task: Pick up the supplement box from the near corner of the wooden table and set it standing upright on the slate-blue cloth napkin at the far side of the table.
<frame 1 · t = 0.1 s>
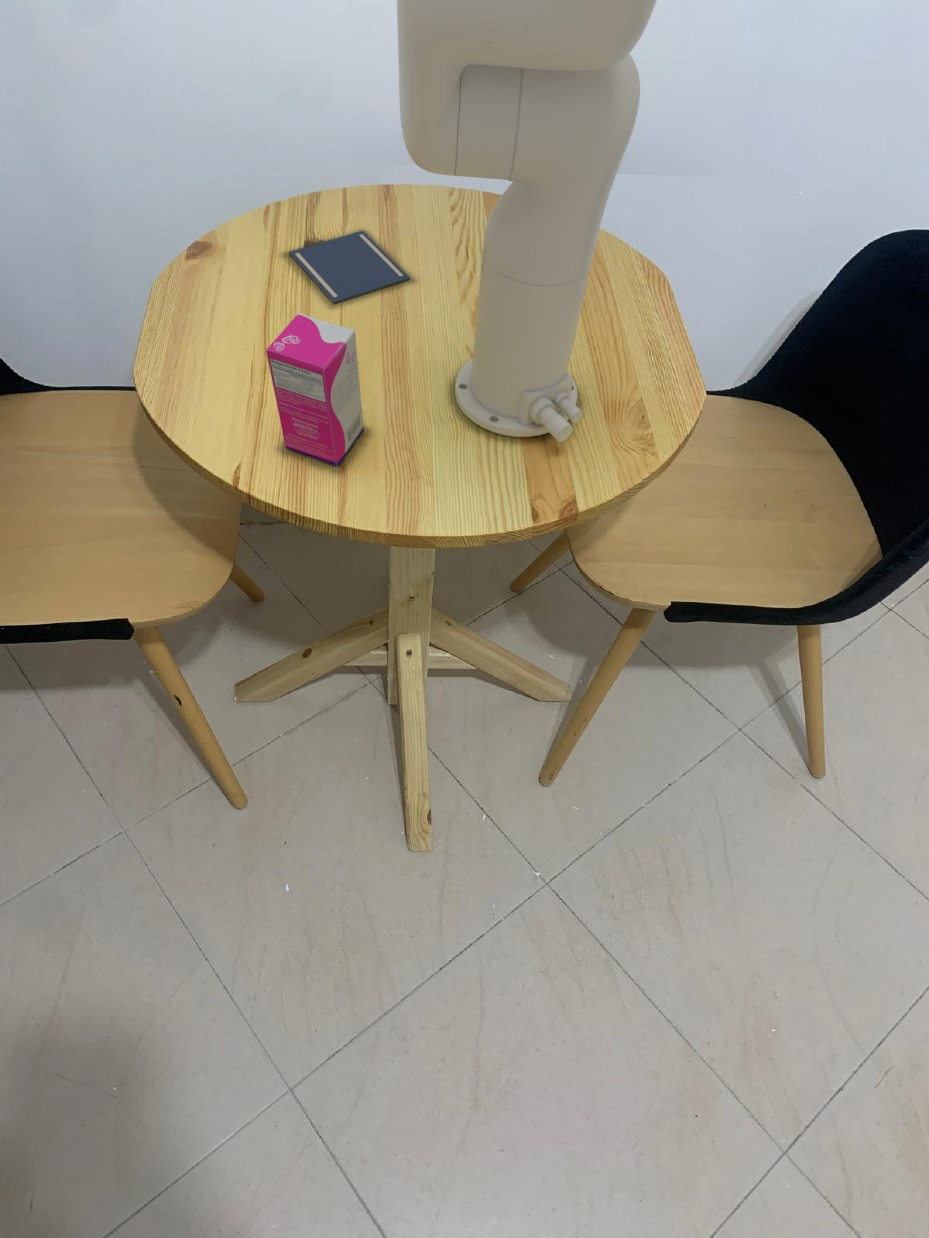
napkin: (349, 267, 90), on the table
supplement box: (324, 441, 75), on the table
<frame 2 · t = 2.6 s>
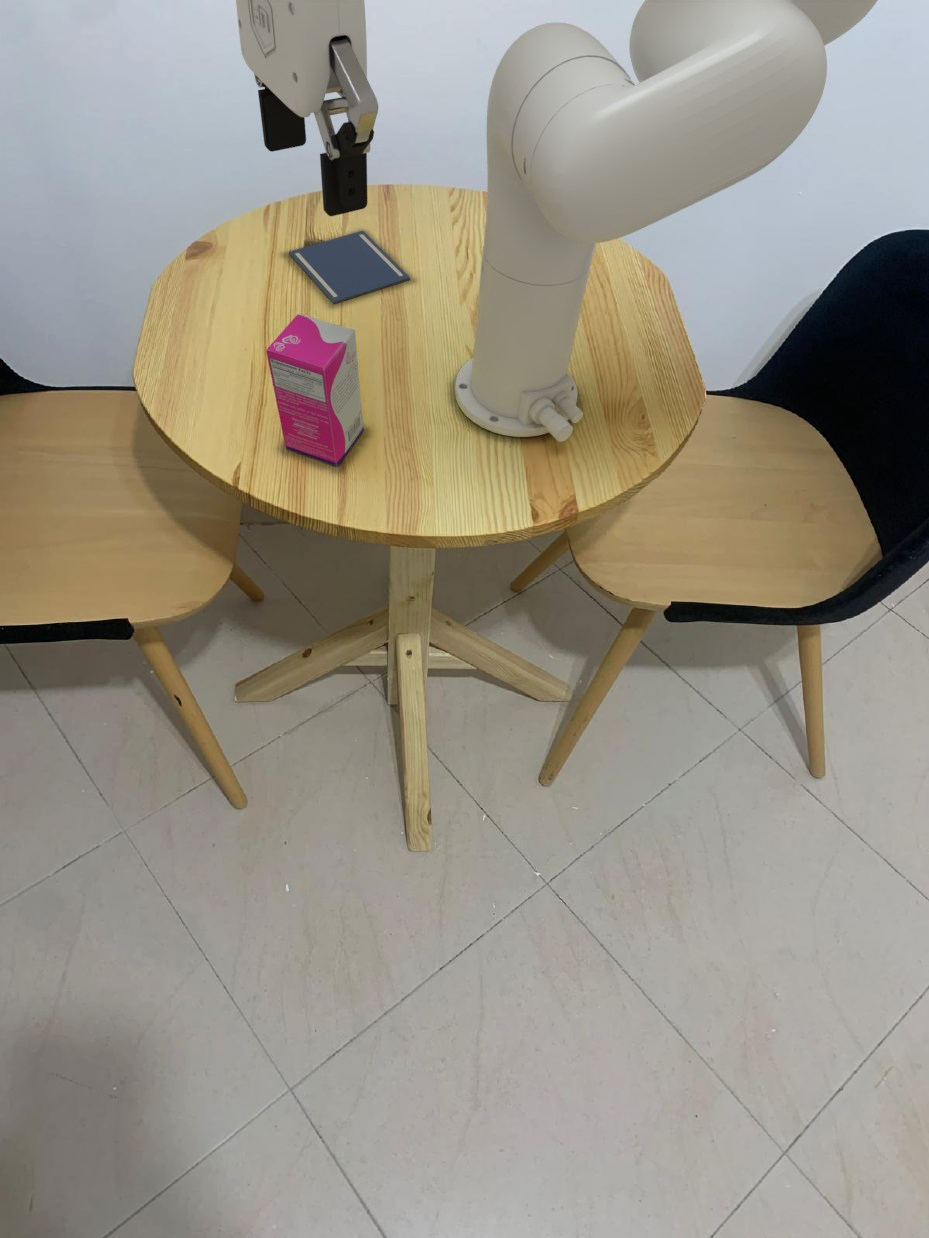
hand: (314, 177, 57), 23 cm above the table, tool pointing down, fingers open, 9 cm apart
nothing on the table moved.
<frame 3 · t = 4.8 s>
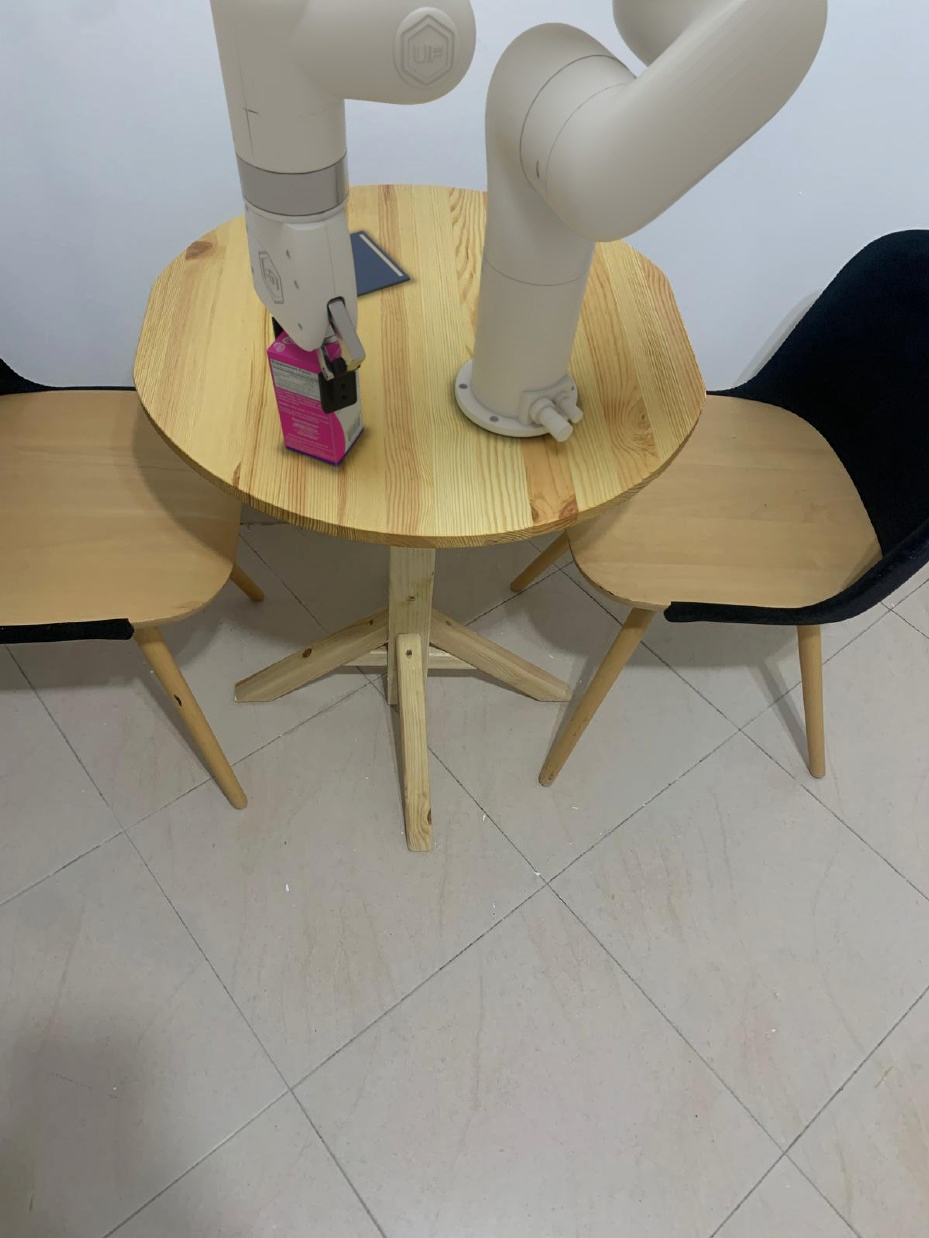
hand: (316, 378, 68), 7 cm above the table, tool pointing down, fingers closed on supplement box, 7 cm apart
supplement box: (324, 441, 75), on the table, touching gripper
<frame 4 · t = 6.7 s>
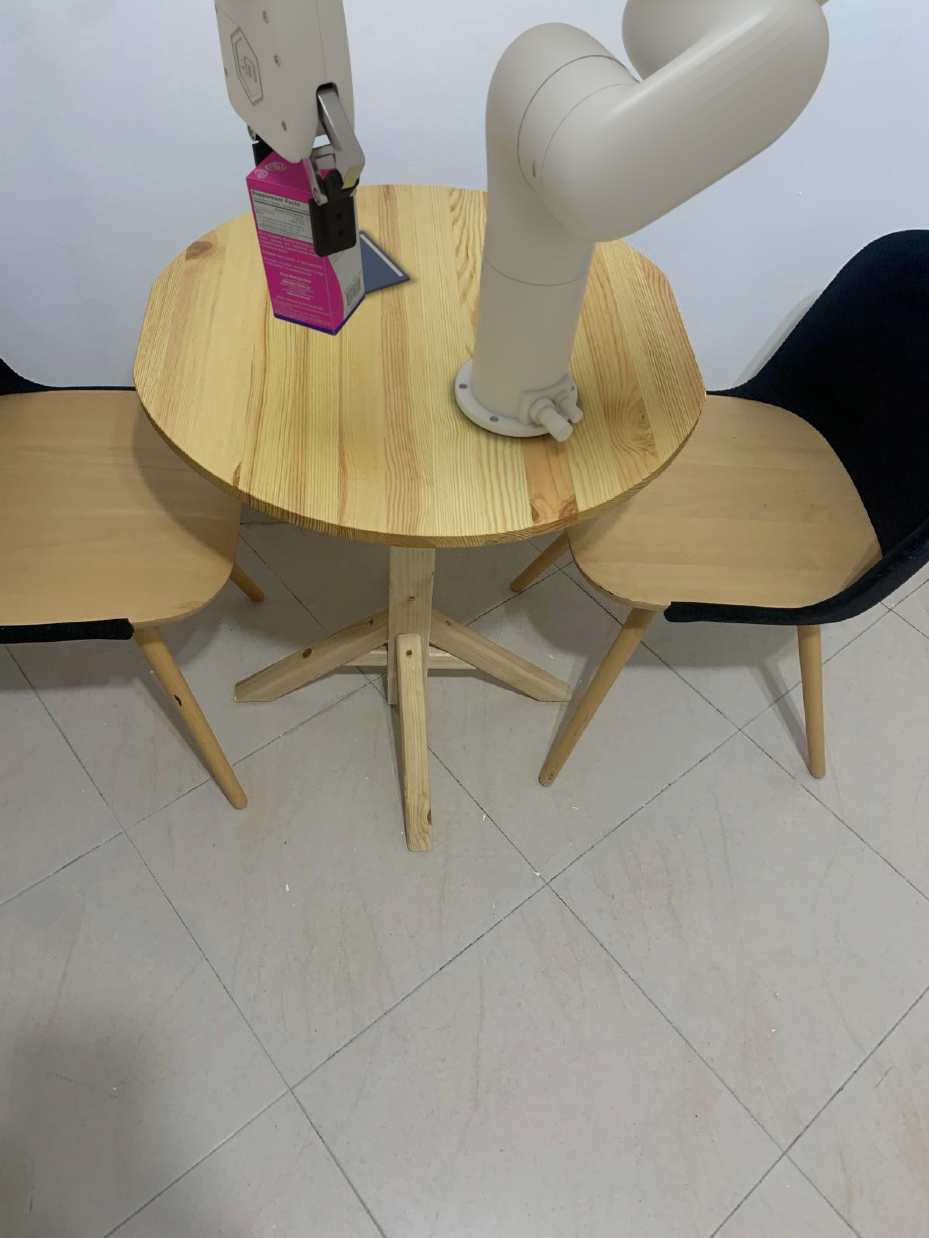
hand: (307, 221, 57), 21 cm above the table, tool pointing down, fingers closed on supplement box, 7 cm apart
supplement box: (319, 310, 64), point 14 cm above the table, touching gripper
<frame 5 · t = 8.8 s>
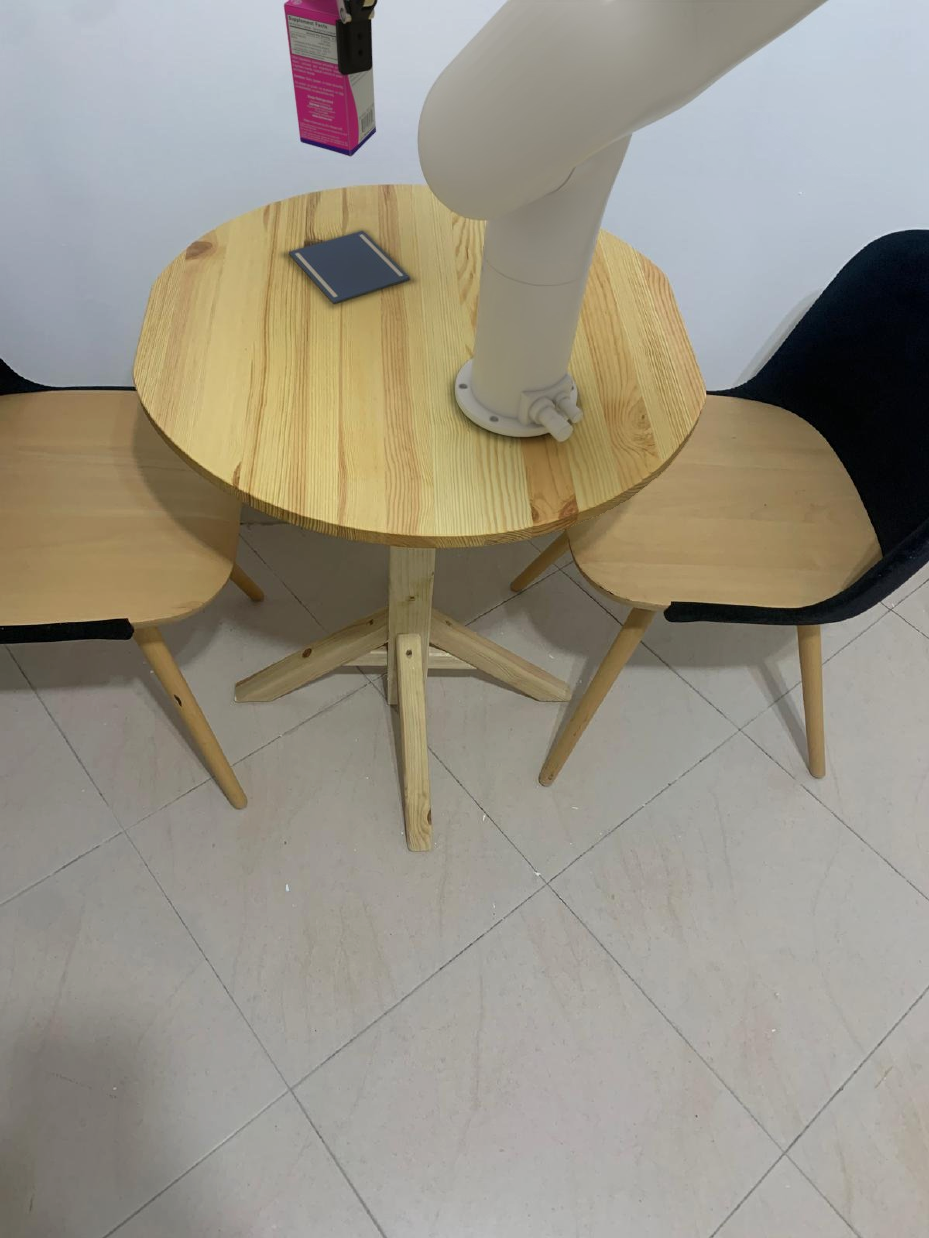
hand: (332, 51, 70), 23 cm above the table, tool pointing down, fingers closed on supplement box, 7 cm apart
supplement box: (337, 140, 77), point 15 cm above the table, touching gripper
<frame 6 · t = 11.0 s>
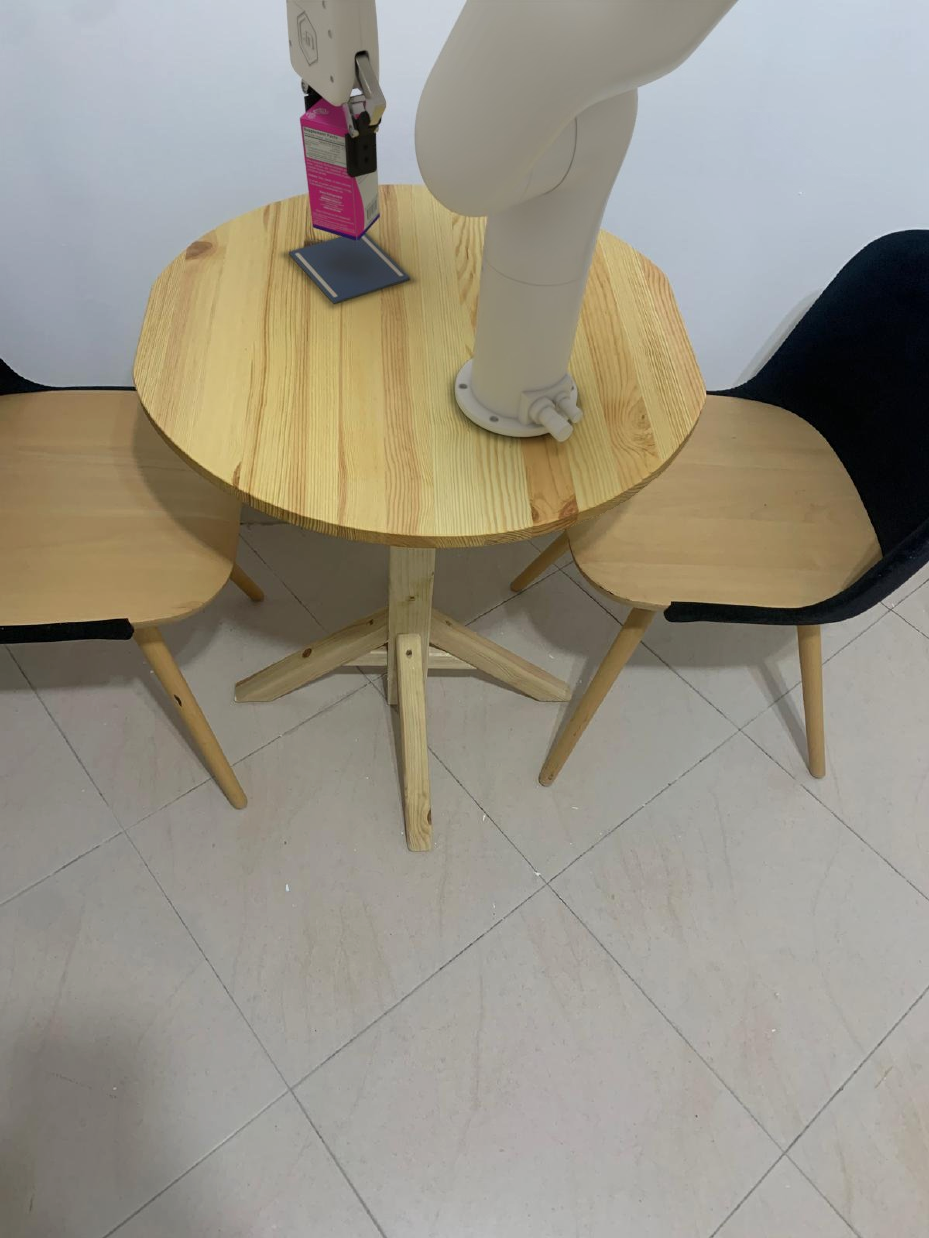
hand: (341, 153, 80), 13 cm above the table, tool pointing down, fingers closed on supplement box, 7 cm apart
supplement box: (345, 224, 86), point 5 cm above the table, touching gripper
when the fingers open (8 cm above the table, at t = 12.8 s): supplement box stays where it is, resting on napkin.
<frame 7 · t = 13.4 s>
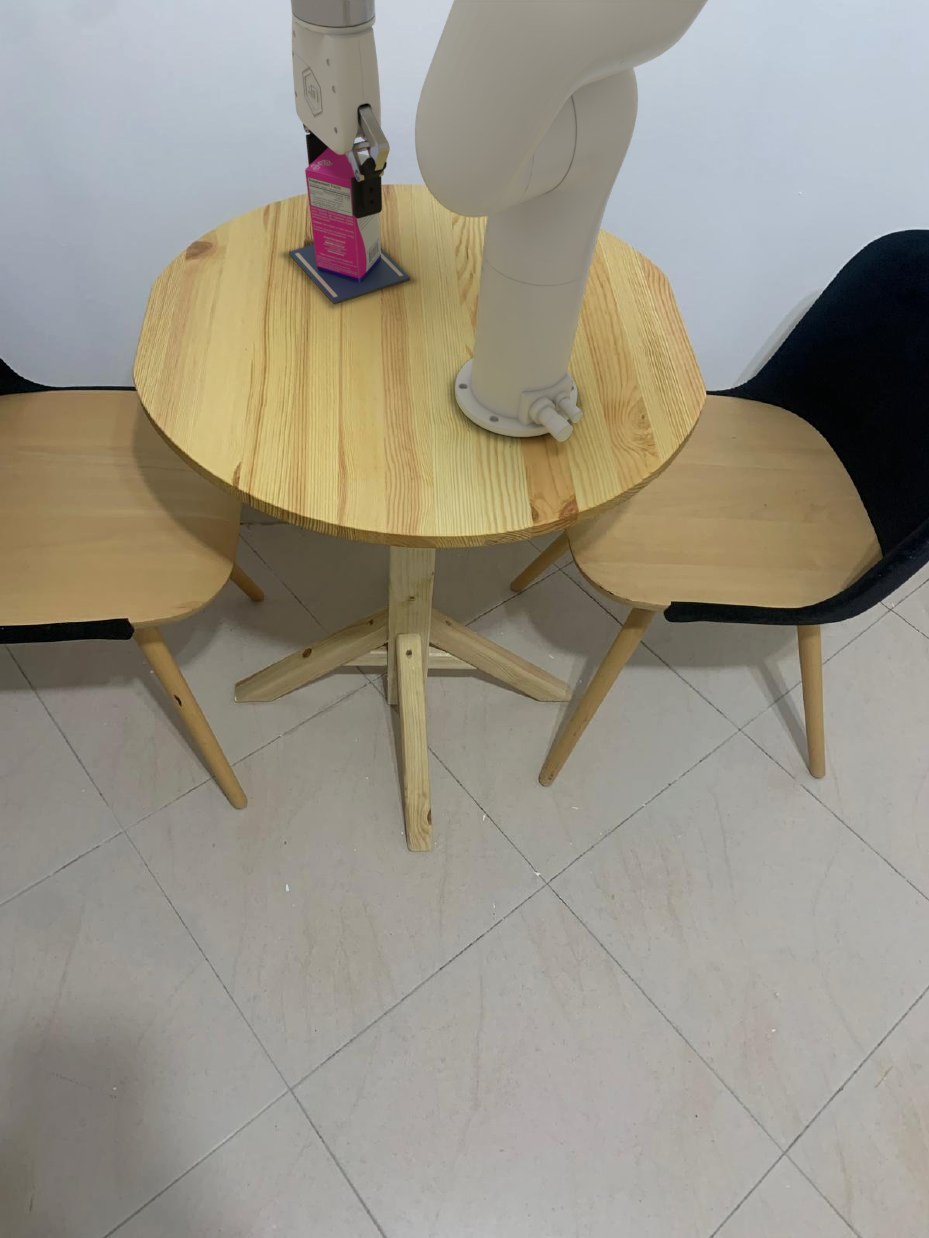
hand: (345, 192, 83), 9 cm above the table, tool pointing down, fingers open, 9 cm apart
supplement box: (348, 266, 90), resting on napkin
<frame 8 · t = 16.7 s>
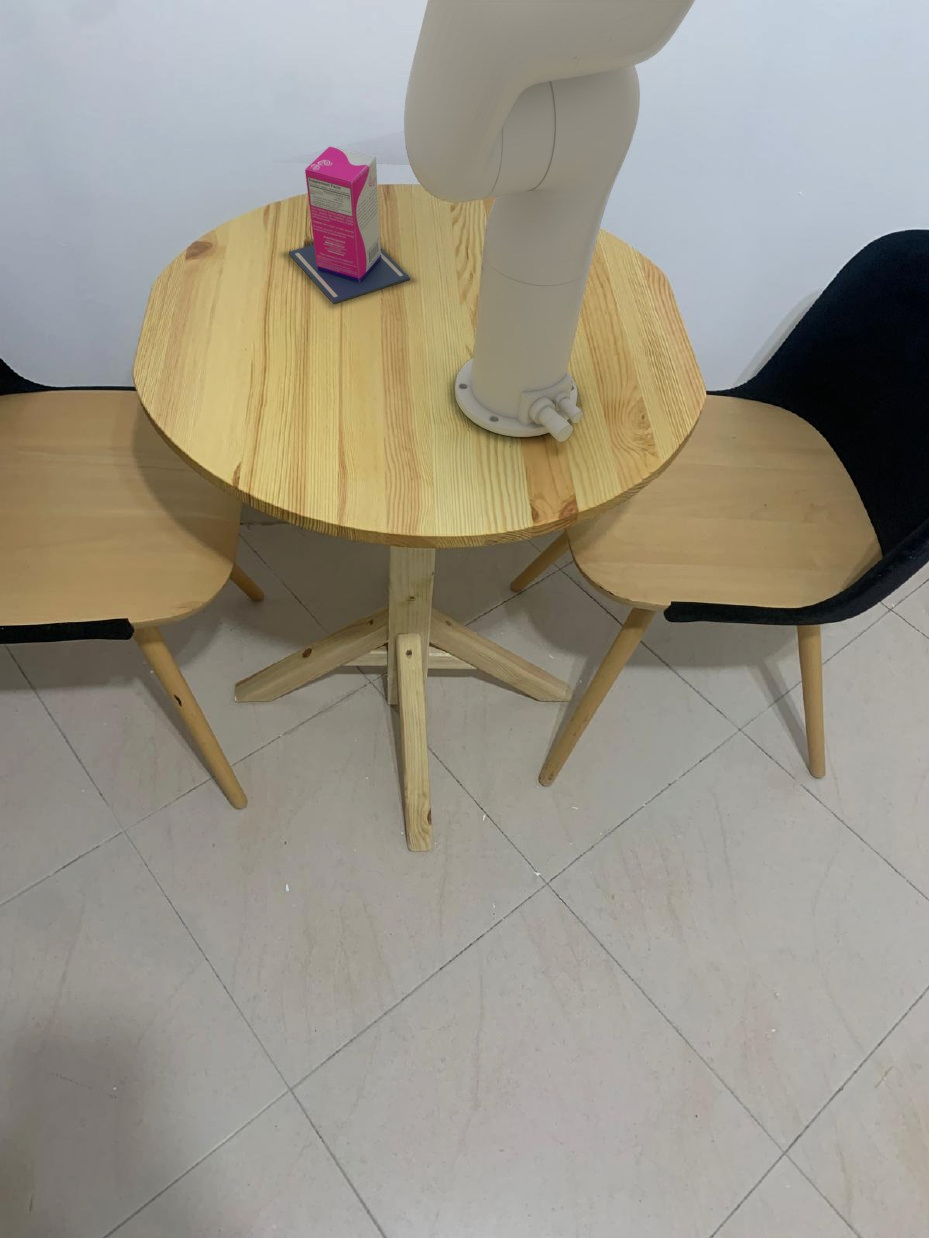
nothing on the table moved.
at the end: supplement box inside the target area on the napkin (0.0 cm from its centre), point 0.1 cm above the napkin's base; supplement box tilted 0°; the gripper is holding nothing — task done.
